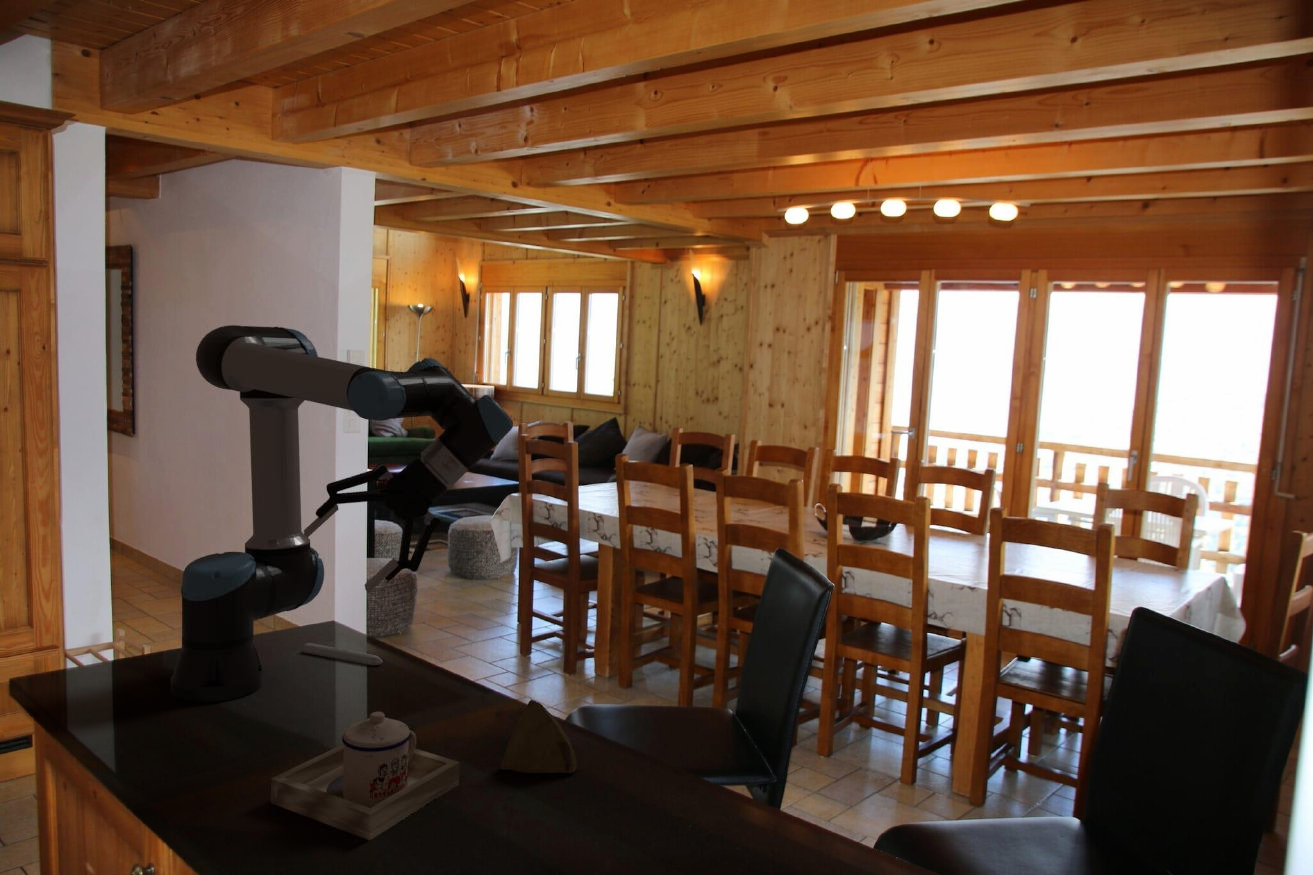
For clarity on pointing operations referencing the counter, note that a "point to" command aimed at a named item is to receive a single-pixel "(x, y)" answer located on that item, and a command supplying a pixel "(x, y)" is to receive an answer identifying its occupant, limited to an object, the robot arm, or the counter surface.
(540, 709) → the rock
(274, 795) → the housing tray
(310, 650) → the marker
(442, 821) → the counter surface
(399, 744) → the teacup with lid
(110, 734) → the counter surface
